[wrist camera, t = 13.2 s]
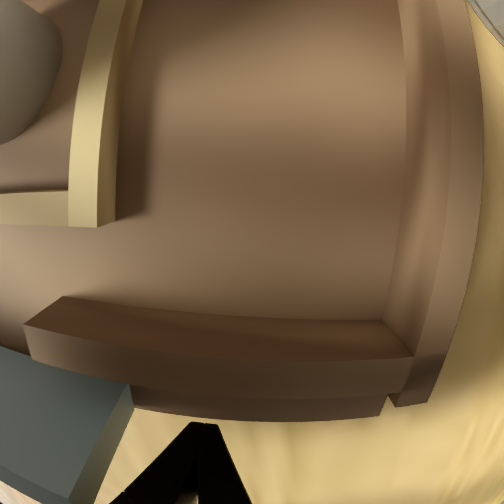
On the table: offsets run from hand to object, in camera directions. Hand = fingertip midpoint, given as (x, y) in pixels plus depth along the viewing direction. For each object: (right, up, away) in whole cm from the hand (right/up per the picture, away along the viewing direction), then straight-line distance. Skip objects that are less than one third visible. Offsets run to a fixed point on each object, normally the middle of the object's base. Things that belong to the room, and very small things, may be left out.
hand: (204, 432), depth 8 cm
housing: (-9, +9, 0) cm, 13 cm away
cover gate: (-8, +1, 0) cm, 8 cm away
